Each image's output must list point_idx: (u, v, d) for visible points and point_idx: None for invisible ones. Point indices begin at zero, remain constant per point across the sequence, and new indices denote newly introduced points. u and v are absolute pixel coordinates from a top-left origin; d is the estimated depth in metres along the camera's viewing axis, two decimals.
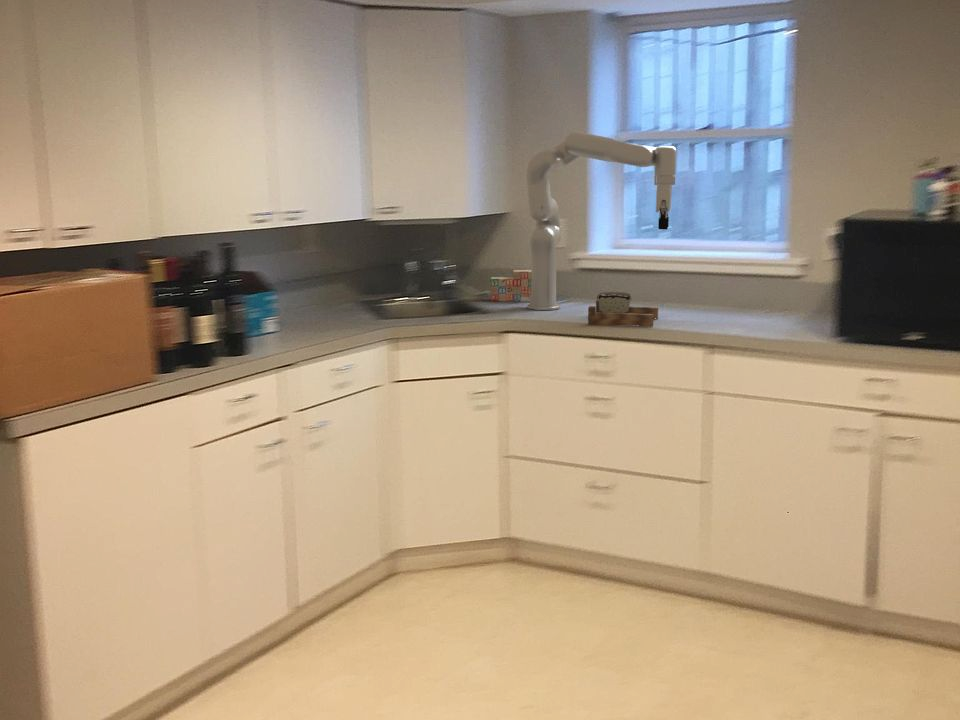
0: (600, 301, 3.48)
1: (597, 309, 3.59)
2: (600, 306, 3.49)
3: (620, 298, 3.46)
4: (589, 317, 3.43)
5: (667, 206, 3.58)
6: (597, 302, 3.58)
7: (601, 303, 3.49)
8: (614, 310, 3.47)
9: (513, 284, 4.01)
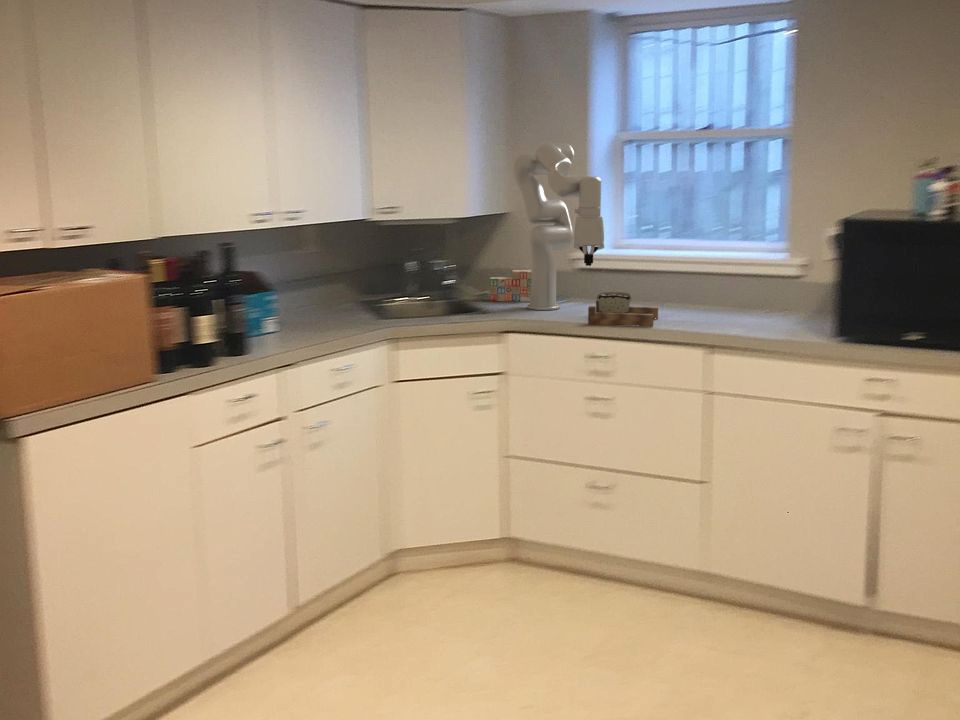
0: (600, 301, 3.48)
1: (597, 309, 3.59)
2: (600, 306, 3.49)
3: (620, 298, 3.46)
4: (589, 317, 3.43)
5: None
6: (597, 302, 3.58)
7: (601, 303, 3.49)
8: (614, 310, 3.47)
9: (512, 284, 4.01)
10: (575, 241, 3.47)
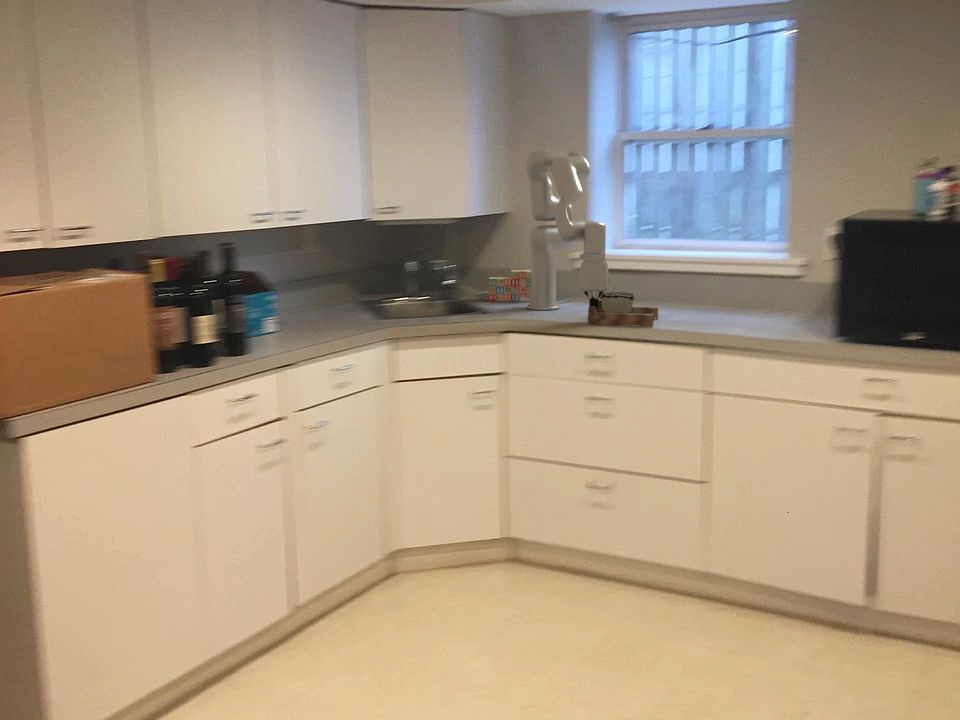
0: (603, 301, 3.48)
1: (597, 309, 3.59)
2: (603, 306, 3.48)
3: (623, 298, 3.46)
4: (589, 317, 3.43)
5: None
6: None
7: (604, 303, 3.48)
8: (617, 309, 3.47)
9: (511, 284, 4.01)
10: (580, 286, 3.49)
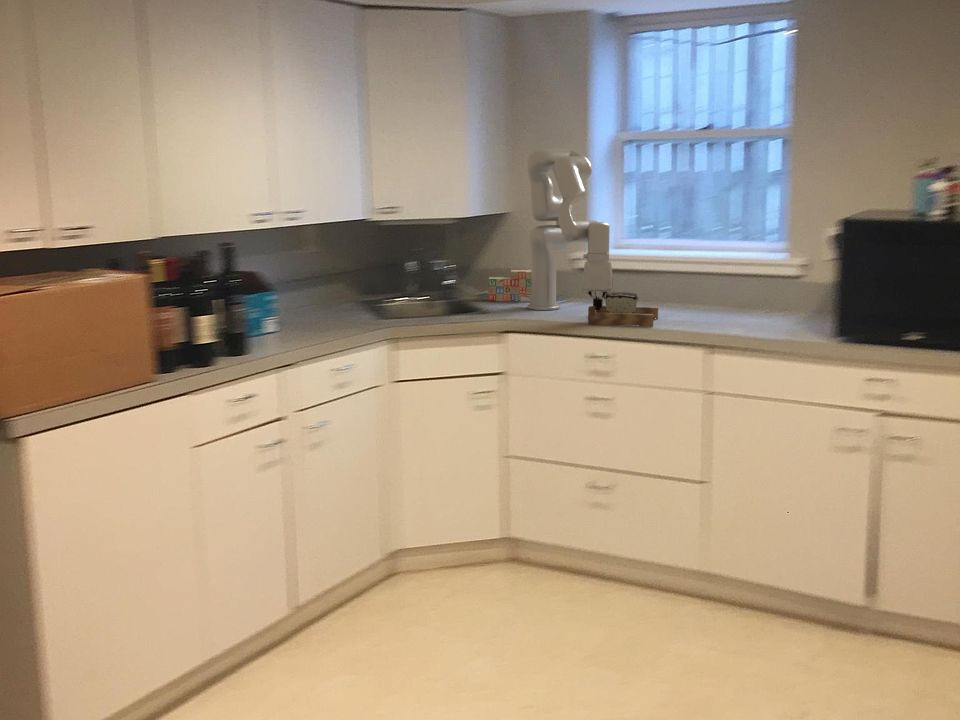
0: (607, 301, 3.48)
1: None
2: (607, 306, 3.48)
3: (627, 298, 3.45)
4: (589, 317, 3.43)
5: None
6: None
7: (608, 303, 3.48)
8: (621, 310, 3.47)
9: (511, 284, 4.01)
10: (584, 286, 3.49)
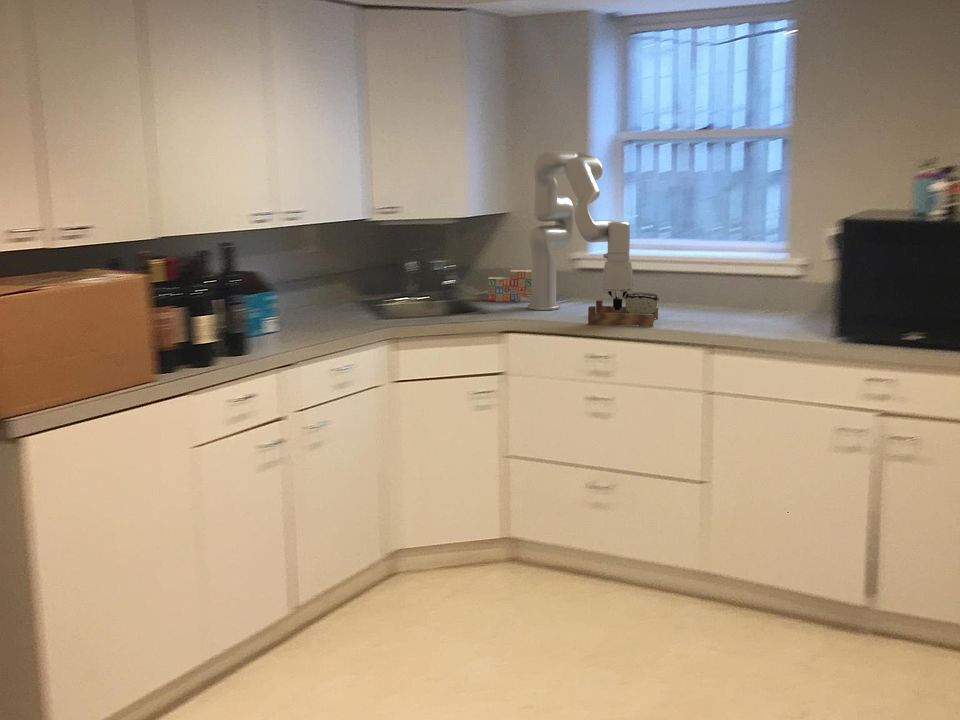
0: (627, 301, 3.46)
1: (597, 309, 3.59)
2: (627, 306, 3.46)
3: (647, 298, 3.43)
4: (589, 317, 3.43)
5: None
6: (597, 302, 3.58)
7: (628, 303, 3.46)
8: (641, 310, 3.45)
9: (511, 284, 4.01)
10: (604, 286, 3.47)
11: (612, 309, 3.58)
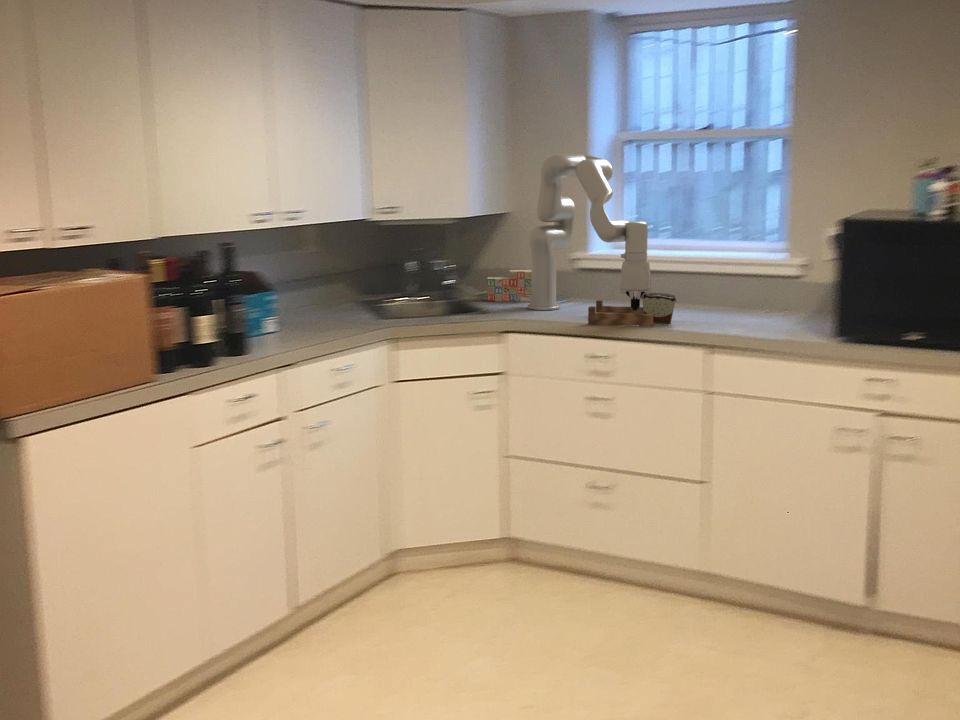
0: (644, 301, 3.44)
1: (597, 309, 3.59)
2: (644, 306, 3.44)
3: (665, 299, 3.41)
4: (589, 317, 3.43)
5: None
6: (597, 302, 3.58)
7: (645, 303, 3.44)
8: (658, 311, 3.43)
9: (510, 284, 4.01)
10: (621, 286, 3.45)
11: (612, 309, 3.58)
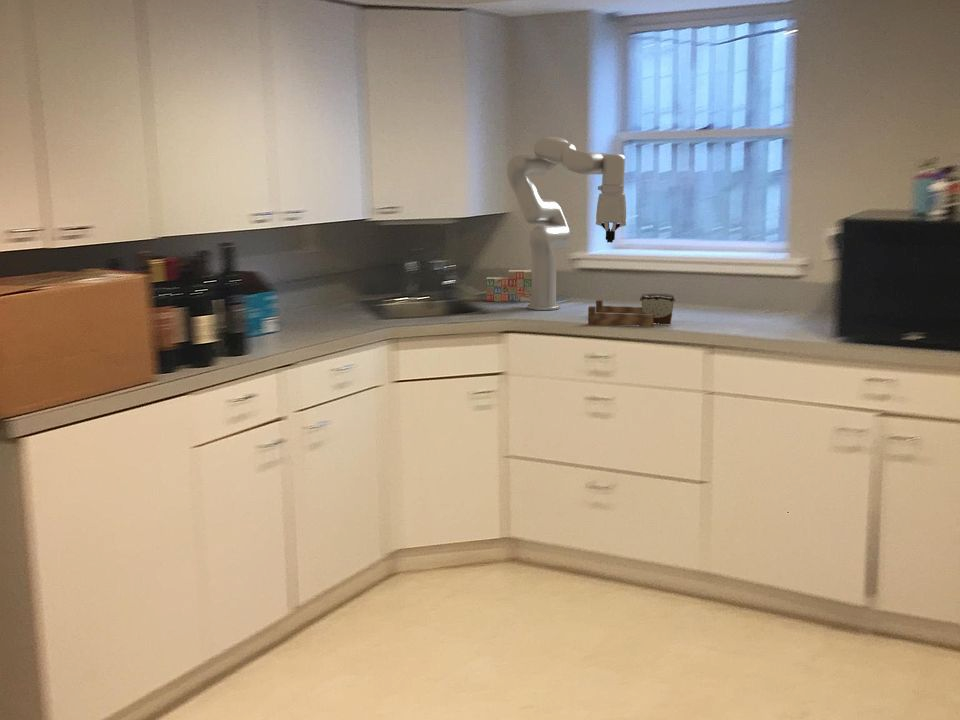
0: (643, 303, 3.44)
1: (597, 309, 3.59)
2: (643, 308, 3.44)
3: (664, 299, 3.41)
4: (589, 317, 3.43)
5: None
6: (597, 302, 3.58)
7: (644, 305, 3.44)
8: (657, 311, 3.43)
9: (509, 284, 4.01)
10: (597, 218, 3.51)
11: (612, 309, 3.58)
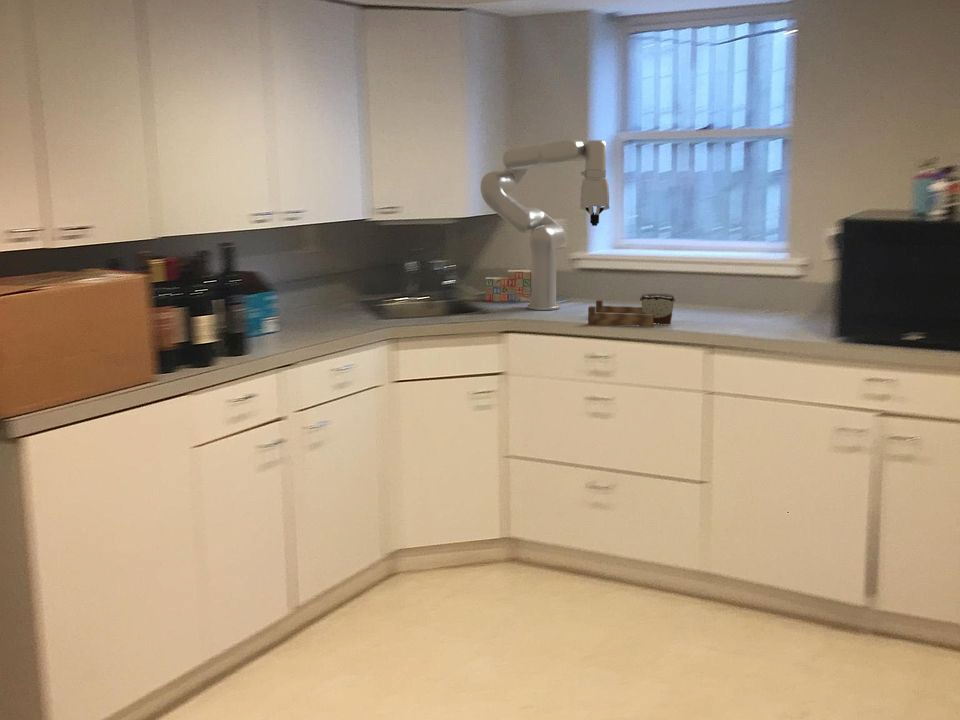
0: (643, 303, 3.44)
1: (597, 309, 3.59)
2: (643, 308, 3.44)
3: (664, 299, 3.41)
4: (589, 317, 3.43)
5: None
6: (597, 302, 3.58)
7: (644, 305, 3.44)
8: (657, 311, 3.43)
9: (508, 284, 4.01)
10: (581, 202, 3.64)
11: (612, 309, 3.58)
